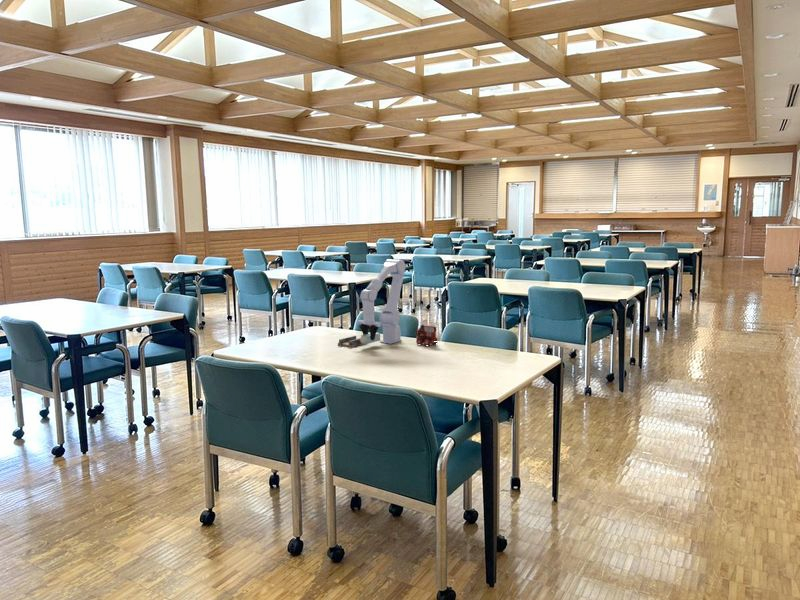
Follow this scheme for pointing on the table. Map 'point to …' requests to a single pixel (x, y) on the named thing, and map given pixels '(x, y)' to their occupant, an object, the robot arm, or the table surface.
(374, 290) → the robot arm
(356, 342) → the cradle
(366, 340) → the dome-topped blue pillar
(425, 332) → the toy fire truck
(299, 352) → the table surface
